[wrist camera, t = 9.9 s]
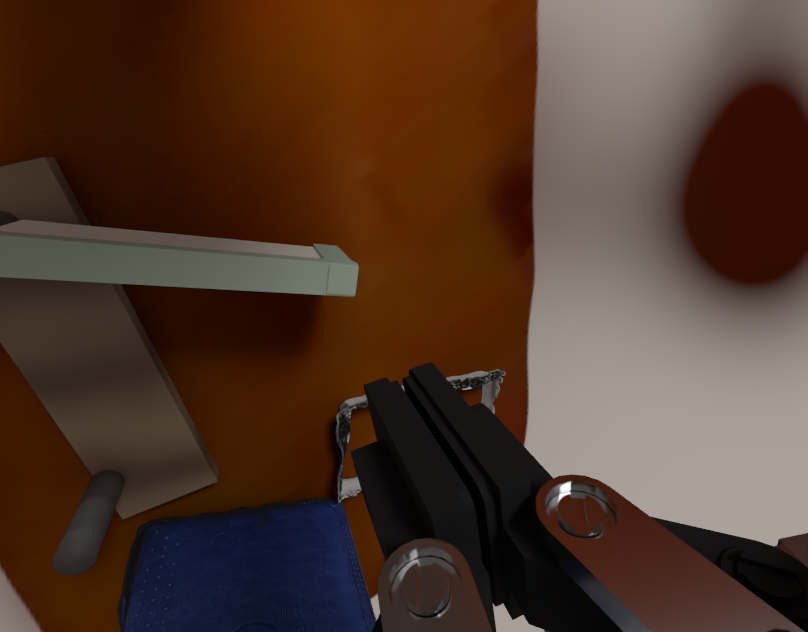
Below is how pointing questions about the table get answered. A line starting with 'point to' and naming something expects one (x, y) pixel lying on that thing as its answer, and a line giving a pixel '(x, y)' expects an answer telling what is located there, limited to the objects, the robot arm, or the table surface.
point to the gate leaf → (171, 260)
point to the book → (247, 572)
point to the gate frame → (95, 378)
